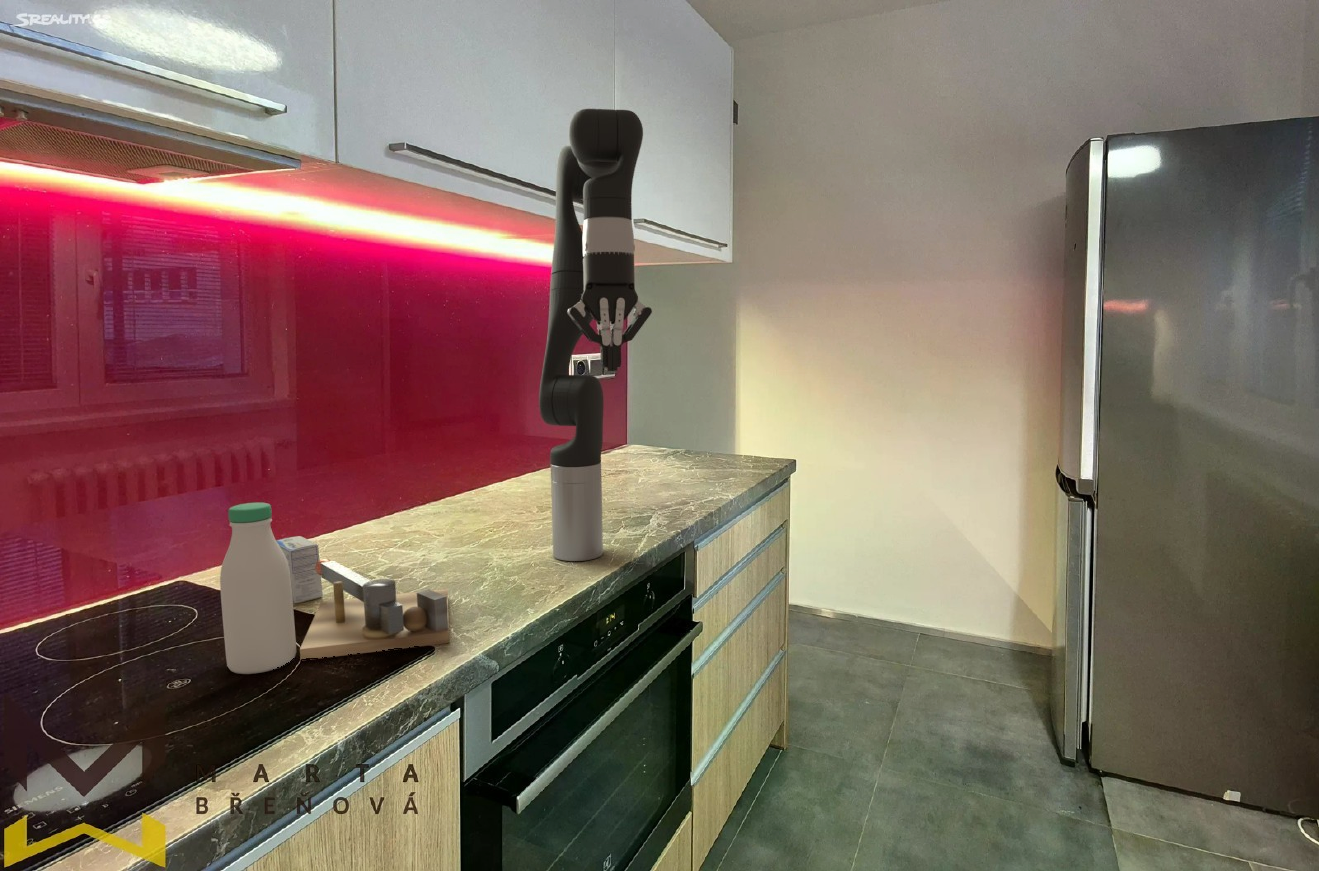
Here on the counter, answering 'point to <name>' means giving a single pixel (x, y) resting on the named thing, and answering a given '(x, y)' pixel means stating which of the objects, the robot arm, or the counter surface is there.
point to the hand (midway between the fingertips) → (610, 370)
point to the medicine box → (302, 568)
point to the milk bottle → (256, 594)
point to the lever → (367, 595)
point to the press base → (346, 632)
